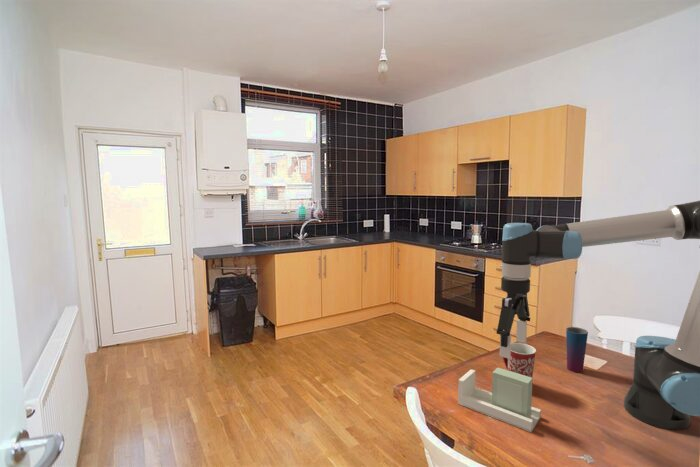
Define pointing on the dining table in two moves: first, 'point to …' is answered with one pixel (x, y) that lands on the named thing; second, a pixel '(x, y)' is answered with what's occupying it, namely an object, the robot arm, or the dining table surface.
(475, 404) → the track
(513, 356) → the mug
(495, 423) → the dining table surface
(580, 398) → the dining table surface
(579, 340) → the cup
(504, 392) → the door panel
